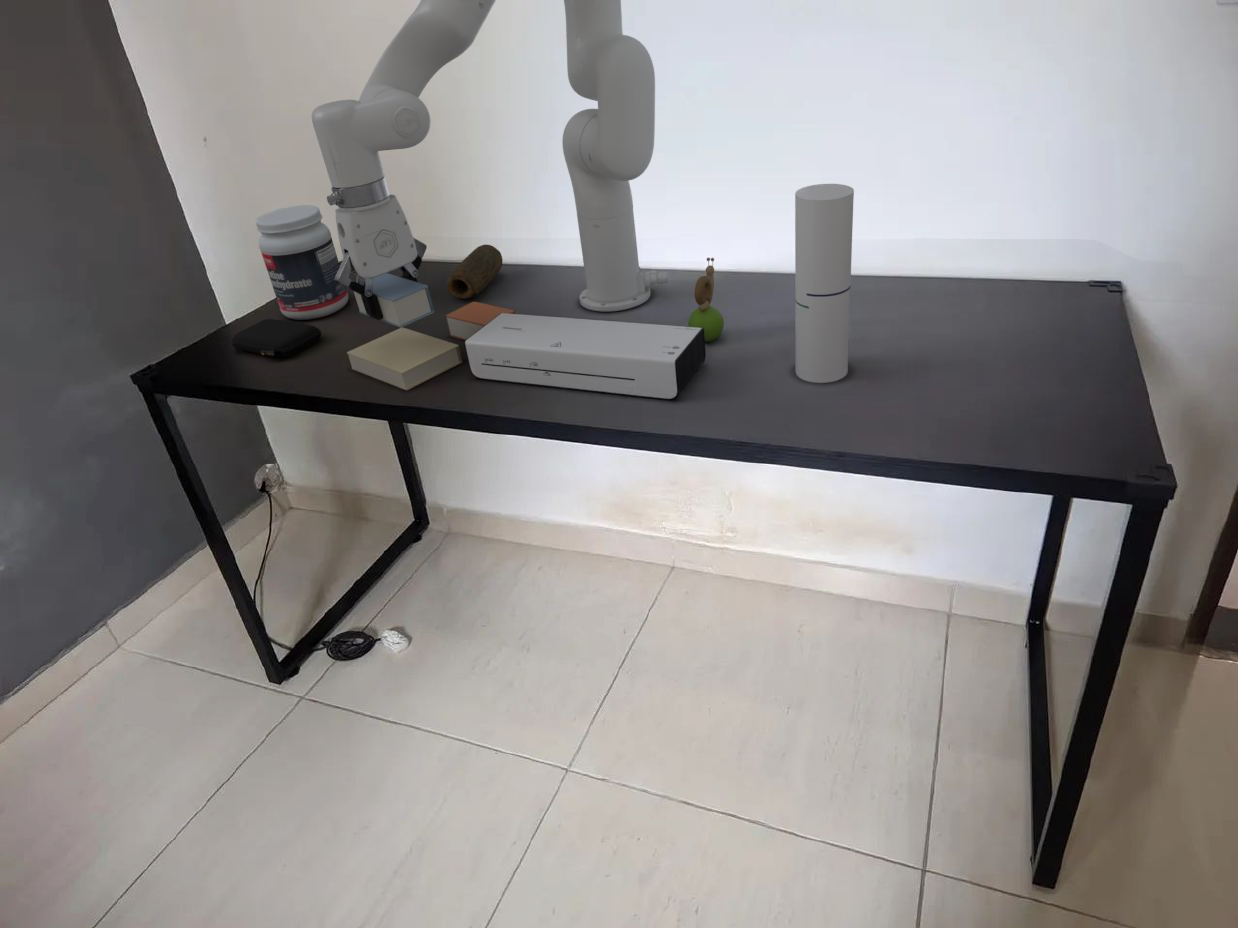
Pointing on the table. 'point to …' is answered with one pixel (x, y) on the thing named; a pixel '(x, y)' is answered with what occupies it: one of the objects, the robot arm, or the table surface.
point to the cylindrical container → (822, 281)
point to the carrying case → (276, 337)
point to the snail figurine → (706, 307)
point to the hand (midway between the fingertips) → (395, 308)
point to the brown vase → (475, 272)
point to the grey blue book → (399, 300)
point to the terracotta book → (472, 318)
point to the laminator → (587, 354)
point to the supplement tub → (301, 262)
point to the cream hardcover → (405, 358)
